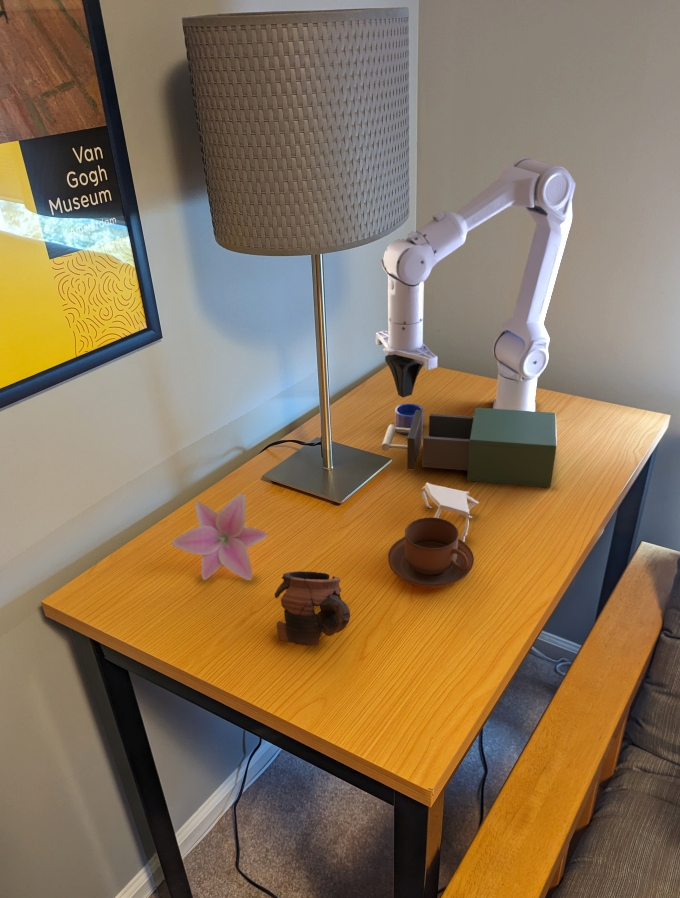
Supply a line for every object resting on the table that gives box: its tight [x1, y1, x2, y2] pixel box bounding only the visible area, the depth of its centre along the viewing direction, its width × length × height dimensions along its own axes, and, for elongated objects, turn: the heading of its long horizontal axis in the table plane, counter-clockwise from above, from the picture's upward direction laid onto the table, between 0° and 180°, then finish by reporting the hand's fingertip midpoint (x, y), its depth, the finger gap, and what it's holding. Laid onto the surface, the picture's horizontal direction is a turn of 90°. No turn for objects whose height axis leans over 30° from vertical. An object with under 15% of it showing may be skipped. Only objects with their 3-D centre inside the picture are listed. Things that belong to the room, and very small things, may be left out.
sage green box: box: [466, 407, 558, 488], centre depth 125 cm, size 14×12×8 cm
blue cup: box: [394, 403, 425, 436], centre depth 138 cm, size 5×5×4 cm
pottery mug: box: [274, 570, 351, 646], centre depth 95 cm, size 12×10×8 cm
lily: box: [171, 493, 269, 581], centre depth 105 cm, size 12×12×10 cm
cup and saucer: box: [387, 516, 475, 588], centre depth 103 cm, size 12×12×6 cm
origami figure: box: [419, 482, 480, 543], centre depth 113 cm, size 12×8×5 cm
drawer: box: [380, 409, 474, 471], centre depth 127 cm, size 17×10×6 cm, turn 79°
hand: (405, 394), depth 129 cm, fingers closed
